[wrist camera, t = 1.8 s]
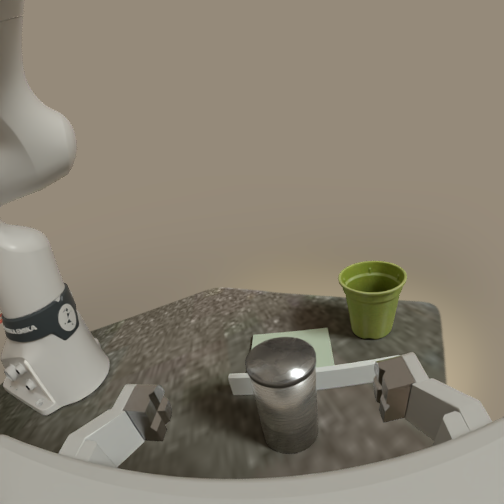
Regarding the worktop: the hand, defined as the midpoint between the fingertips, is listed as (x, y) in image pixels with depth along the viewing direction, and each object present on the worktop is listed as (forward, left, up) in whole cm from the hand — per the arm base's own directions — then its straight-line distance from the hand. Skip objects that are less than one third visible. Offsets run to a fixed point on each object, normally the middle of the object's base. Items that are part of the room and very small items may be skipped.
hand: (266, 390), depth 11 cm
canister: (-1, +12, -19) cm, 23 cm away
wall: (+2, +18, -19) cm, 27 cm away
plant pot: (+11, +29, -20) cm, 36 cm away
